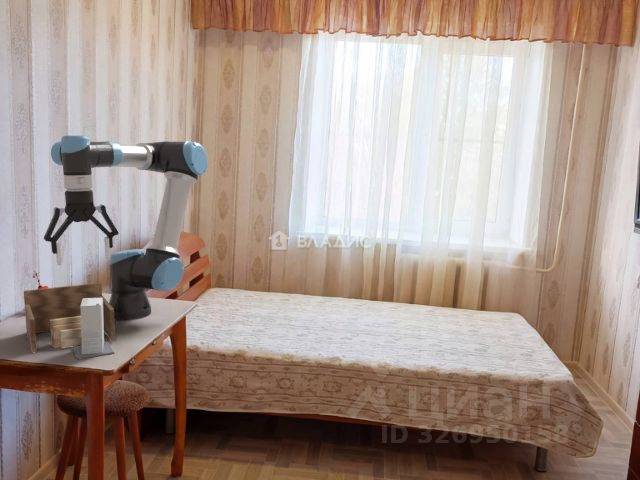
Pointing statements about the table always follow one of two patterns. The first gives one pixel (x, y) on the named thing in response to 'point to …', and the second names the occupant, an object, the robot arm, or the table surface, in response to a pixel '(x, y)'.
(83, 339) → the skincare box
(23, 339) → the table surface
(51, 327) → the offcut bundle
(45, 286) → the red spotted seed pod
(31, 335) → the walnut rack
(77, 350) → the grey rubber mat
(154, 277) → the robot arm
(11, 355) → the table surface
